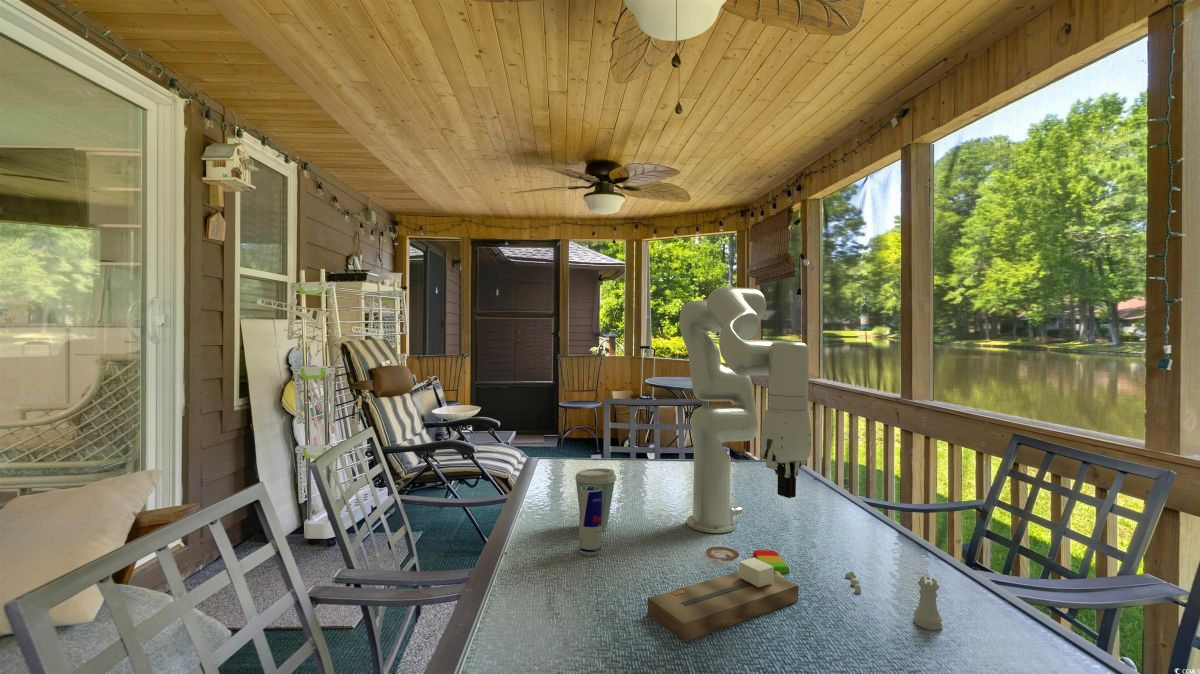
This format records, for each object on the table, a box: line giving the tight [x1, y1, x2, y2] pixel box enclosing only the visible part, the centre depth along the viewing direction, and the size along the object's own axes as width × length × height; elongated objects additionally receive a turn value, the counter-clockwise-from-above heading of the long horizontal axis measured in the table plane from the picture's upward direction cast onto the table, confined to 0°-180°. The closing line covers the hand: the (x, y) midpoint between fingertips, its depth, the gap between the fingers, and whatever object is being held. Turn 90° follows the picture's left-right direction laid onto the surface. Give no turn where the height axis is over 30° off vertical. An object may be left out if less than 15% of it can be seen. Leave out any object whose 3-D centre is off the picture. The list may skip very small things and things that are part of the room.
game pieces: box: [844, 571, 862, 595], centre depth 111 cm, size 8×2×2 cm, turn 165°
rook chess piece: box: [912, 575, 943, 632], centre depth 96 cm, size 4×4×8 cm
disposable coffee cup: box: [574, 467, 617, 533], centre depth 141 cm, size 11×11×15 cm
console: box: [647, 570, 799, 643], centre depth 101 cm, size 28×10×3 cm, turn 121°
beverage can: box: [578, 485, 603, 557], centre depth 125 cm, size 5×5×15 cm
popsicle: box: [752, 549, 790, 578], centre depth 118 cm, size 6×15×2 cm, turn 179°
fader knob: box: [738, 557, 775, 587], centre depth 105 cm, size 4×5×3 cm
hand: (786, 495), depth 109 cm, fingers closed
